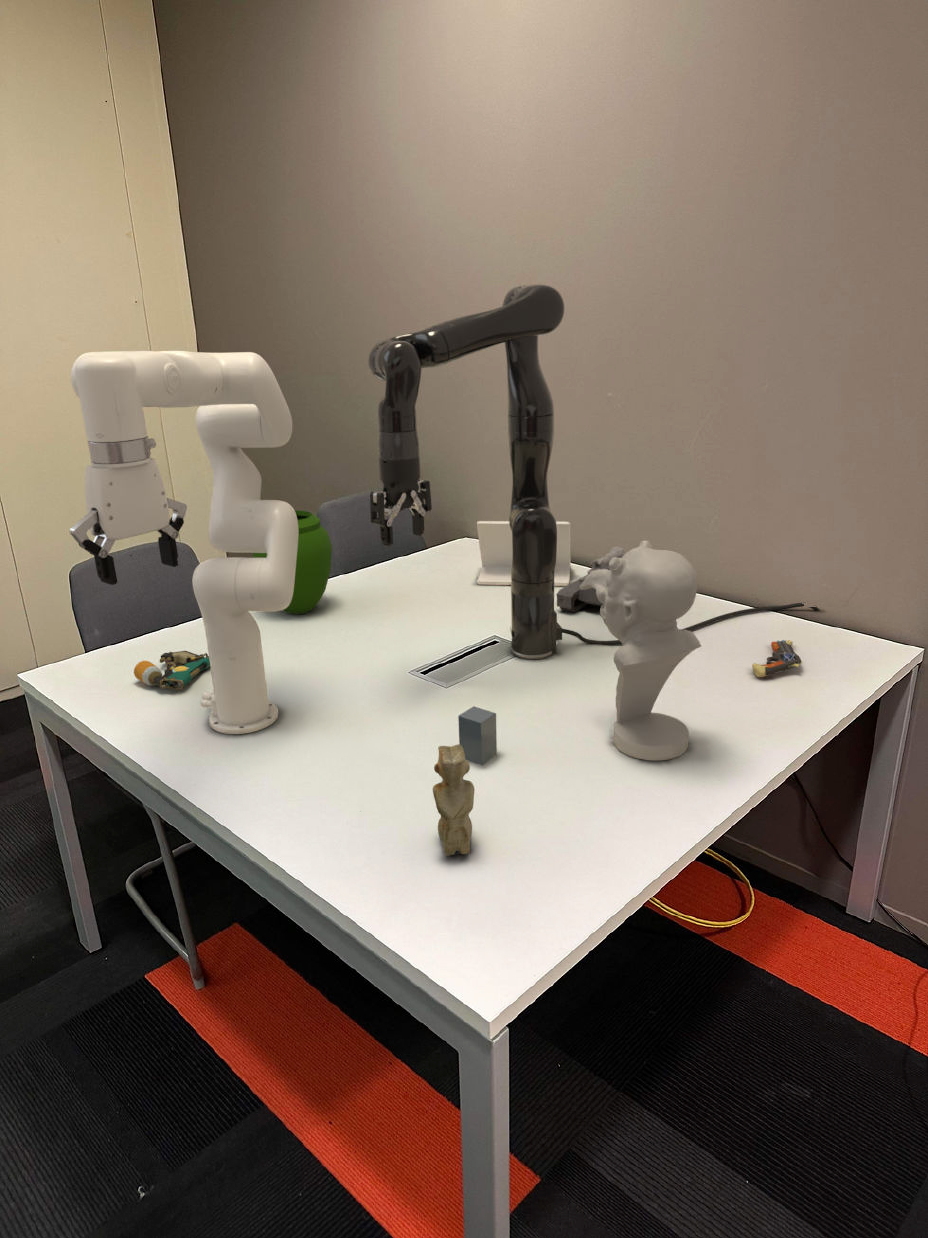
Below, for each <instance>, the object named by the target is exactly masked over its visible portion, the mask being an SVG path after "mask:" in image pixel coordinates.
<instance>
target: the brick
mask: <svg viewBox="0 0 928 1238" xmlns="http://www.w3.org/2000/svg"><path fill="white" fill-rule="evenodd" d="M457 718H458V744H460V745H461V746H462V747H463V751H464V754H465V760H467V761H468V762H470V763H474V764H476V765H478V766H479V765H480V766H483V765H485V764H486V763H488V762H489V761H491V760H492V759H493V758H495V757H496V756H497V755H498V747H497V746H498V744H497V742H498V741H497V740H498V739H497V738H498V737H497V735H498V734H497V713H496V712H494V711H490V710H487V709H484V708H481V707H478V706H474V705H473V706H471V707H470V708H468V709H467V710H466V711H465V710H464V711H463V712H462V713H460V714H458V717H457Z"/></svg>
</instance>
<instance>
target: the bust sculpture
mask: <svg viewBox="0 0 928 1238" xmlns="http://www.w3.org/2000/svg"><path fill="white" fill-rule="evenodd" d="M609 569H610V570H606V569H600V570H595V571H593V572H591V573H590V574H589V575H588V576H587V577H586V579H585V580H584V581H583V583H582V584H581V585H580V587H579V588H580V590H585V589H590V588H594V589H596V595H597V598H598V600H599V601H600V602H601V603H603V605H602V606H600V610H599V614H600V617H601V618H602V620H603V623H604V625H605V626H606V627H607V629H608V631H609V632H610V634H611V635H612V636H614V637H615V638H616V640H619V641H620V642H622V644H621V646H620V647H619V648H617V649H616V651H615V652H614V654H613V662H614V666H615V668H616V670H617V671H618V673H619V674H618V678H617V682H616V688H615V693H616V694H615V710H616V721H615V722H614V724H613V732H612V733H613V734H612V741H613V742H612V743H613V745H614V746H615V748H617V750H619V751H620V752H622V753H623V754H625V755H627V756H630V757H631V758H634V759H635V758H636V759H639V760H646V761H666V760H671V759H675V758H678V757H680V756H682V755H683V754H684V753H686V751H687V749H688V747H689V735H690V733H689V732H690V731H689V728H688V726H687V725H686V724H685V723H684V722H683V721H681V720H680V719H678V718H676V717H673V716H671V715H667V714H664V713H660V712H652V711H653V708H654V706H655V703H656V701H657V699H658V697H659V694H660V693H661V691H662V689H663V688H664V686H665V684H666V682H667V681H668V679H669V678H670V676H671V675H672V673H673V672H674V671H675V669H676V668H677V666H678V665H679V664H680V663H681V662H682V661H683V660H684V659H685V658H686V657H687V656H688V655H690V654H691V653H692V652H694V651H695V650H697V649H699V648H702V644H701V642H700V641H699V640H700V639H698V637H697V636H696V634H695V633H694V632H693V631H692V630H691V631H688V630H683V629H684V628H682V629H680V628H678V621H677V620H679V619H680V618H682V617H683V616H685V615H686V614H687V613H688V612H689V611H690V610H691V608H692V607H693V605H694V603H695V600H696V597H697V592H698V576H697V573H696V571H695V568H694V567H693V565H692V564H691V562H690V561H689V560H688V559H686V558H685V556H684V555H683V554H681V553H678V552H676V551H672V550H666V549H655V548H653V546H652V543H651V542H650V541H649V540H640V543H639V546H637V547H633V548H632V549H630V550H629V551H627V552H625V555H624V556H623V557H622V558H617V557H614V558H612V559H611V560H610V562H609Z"/></svg>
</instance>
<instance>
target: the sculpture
mask: <svg viewBox="0 0 928 1238" xmlns="http://www.w3.org/2000/svg"><path fill="white" fill-rule="evenodd" d="M437 751H438V758H437V762H436V763H435V764H434V767H433V770H434V772H435V773H436V774H437V775H438V776H439V777H441V779H442V781H441V782H437V783H435V784H434V785H433V786H432V794H433V798H434V803H435V808H436V810H437V812H438V814H439V815H440V818H439V819H438V821H437V833H438V837H439V839H440V840H439V841H440V842H441V844H442V848H443V853H444V855H445V856H455V854H456V851H459V853H460V855H468V854H470V852H471V851H470V850H471V838H472V836H473V822H472V820H471V818H470V813H471V812H472V811H473V808H474V800H475V798H474V797H475V786H474V783H473V782H472V781H471V780H468V779H464V777H465V775H467V774H468V773H469V771H470V770H471V765H470V761H468V760H465V754H464V751H463V747H462V746H461V745H460V744H459V743H458V744H454V745H451V746H450V745H449V746H448V745H440V746H438V747H437Z"/></svg>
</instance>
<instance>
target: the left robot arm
mask: <svg viewBox="0 0 928 1238" xmlns="http://www.w3.org/2000/svg"><path fill="white" fill-rule="evenodd" d="M70 382H71V387H72V389H73V392H74V393H75V395H76V396H77V397H78V399H79V402H80V407H81V414H82V419H83V424H84V429H85V430H84V431H85V436H86V441H87V446H88V453H89V456H90V462H91V464H88V465H86V466H85V474H84V495H85V497H84V498H85V506H86V507H85V508H86V514H85V515H84V516H83V517H82V518H80V519H79V520H78V521H77V522H76V523H75V524H74V525H73V526H71V527H70V528H69V534H70V536H72V538H73V539H74V541H76V543H78V545H79V547H80V548H82V549H83V550H85V551H86V552H88V553H89V554H90V555H91V556H93V559H94V563H95V569H96V573H97V577H98V579H100V582H102V583H104V584H108V585H111V586H114V585H117V583H118V578H117V572H116V566H115V561H114V557H113V556H112V555H109V554H110V551H111V550H112V547H113V546H114V544H115V542H116V541H121V540H124V539H129V538H133V537H137V536H142V535H146V534H149V533H153V532H157V533H158V534H159V535H160V536H158V538H157V542H158V549H159V555H160V561H161V564H162V565H164V566H165V565H166V566H169V567H173V568H176V567H178V566H179V561H178V558H179V553H178V546H177V541H176V540H177V539H178V538H179V537H180V536H179V535H180V534H179V532H180V530H181V528H182V527H183V526H184V524H185V520H184V519H185V517H186V513H187V509H188V506H187V504H186V503H183V502H182V501H181V502H180V501H177V500H175V499H171V498H169V497H167V494H166V489H165V484H164V482H163V477H162V475H161V472H160V469H159V467H158V465H157V462H156V459H155V458H154V457H151V455H152V453H151V450H152V449H155V448H156V447H157V443H156V442H157V441H156V440H155V439H154V438H149V436H148V433H147V426H146V419H145V414H144V408H164V409H167V408H168V409H169V408H171V409H172V408H191V407H197V410H196V412H195V426H196V431H197V434H198V437H199V440H200V442H201V444H202V447H203V449H204V451H205V453H206V455H207V458H208V461H209V463H210V466H211V469H212V474H213V475H212V476H213V484H212V492H211V493H212V494H211V502H210V511H209V512H210V513H209V518H208V519H209V520H208V539H209V542H210V544H211V546H212V547H213V548H214V549H216V550H218V551H219V552H223V553H224V552H225V553H235V554H236V553H237V554H239V553H240V554H243V553H244V554H246V553H247V554H250V553H251V554H253V553H267V557H266V558H254V557H245V556H243V557H242V556H230V557H229V556H226V557H225V556H222V557H221V556H220V557H213V558H208V559H206V560H204V561H201V562H200V563H199V564H198V565H197V566H196V567H195V569H194V571H193V573H192V583H191V584H192V590H193V593H194V594H193V595H194V597H195V599H196V603H197V606H198V608H199V611H200V615H201V618H202V622H203V627H204V632H205V638H206V644H207V645H206V646H207V652H208V653H207V654H208V656H209V660H210V666H209V667H210V673H211V681H212V686H213V692H212V691H204V692H203V694H202V699H201V701H200V706H201V707H203V708H210V709H211V714H210V716H209V719H208V720H209V725H210V727H211V728H212V729H213V730H214V731H216V732H218V733H221V734H225V735H244V734H249V733H254V732H257V731H260V730H263V729H265V728H267V727H269V726H271V725H273V723H275V721H276V720H277V719H278V717H279V709H278V707H277V705H276V704H275V703H273V702H271V701H269V695H268V686H267V679H266V671H265V662H264V654H263V645H262V635H261V630H260V627H259V624H258V623H257V621H256V619H255V618H254V616H253V615H252V614H251V613H250V612H281V611H282V610H284V609H285V608H287V607H288V606H289V604H290V602H291V600H292V596H293V591H294V582H295V571H296V560H297V548H298V533H299V530H298V520H297V516H296V513H295V511H296V510H295V509H294V507H293V506H292V505H291V504H290V503H288V502H287V501H284V500H278V499H261V495H262V485H263V483H262V482H263V481H262V475H261V473H260V471H259V470H258V468H257V466H256V465H255V464H254V462H253V461H252V460H251V459H250V457H248V455H247V454H246V453H245V452H244V451H243V450H242V449H258V448H259V449H262V448H263V449H265V448H266V449H267V448H269V449H270V448H271V449H272V448H280V447H282V446H284V445H287V443H288V442H289V441H290V439H291V438H292V434H293V418H292V414H291V410H290V408H289V405H288V404H287V401H286V398H285V396H284V394H283V391H282V390H281V387H280V384H279V383H278V380H277V378H276V376H275V373H274V372H273V370H272V369H271V367H270V365H269V364H268V362H267V361H266V360H265V359H264V358H263V357H262V356H261V355H260V354H258V353H256V352H252V351H241V352H240V351H239V352H233V351H231V352H204V351H203V352H201V351H188V350H159V351H154V350H116V351H115V350H114V351H113V350H111V351H108V350H107V351H90V352H85V353H83V354H81V355H79V356H78V357H77V358H76V359H75V361H74V362H73V364H72V366H71V371H70ZM170 510H172V516H171V515H170ZM170 516H171V517H170ZM88 531H90V534H91V535H92V536H94V539H93V540H91V539H90V538H89V536H88V534H87V532H88Z"/></svg>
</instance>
